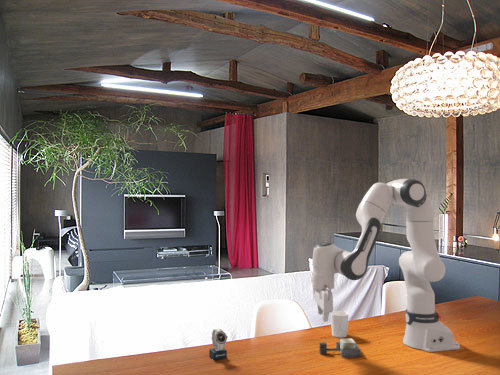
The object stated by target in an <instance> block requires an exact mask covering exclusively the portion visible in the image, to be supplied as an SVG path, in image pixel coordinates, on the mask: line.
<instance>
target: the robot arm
mask: <svg viewBox="0 0 500 375" xmlns="http://www.w3.org/2000/svg"><path fill="white" fill-rule="evenodd" d="M391 205H397V206H404V208H405V212H406V213H405V214H406V215H405V216H406V217H405V218H406V219H405V223H406V224H405V225H406V228H405V229H406V230H405V232H406V239H407V242H408V244H409V246H410V250H407V251H404V252H402V254H401V255H400V257H399V258H398V265H399V267H400V269H401V270H402V274H403V278H404V280H403V281H404V284H405V288H406V289H405V291H406V309H405V324H406V325H405V330H404V336H403V339H402V343H403V344H404V345H406V346H408V347H410V348H413V349H417V350H422V351H426V352H429V353H433V352H434V353H435V352H444V351H453V350H460V349H461V346H460V343H459V342H458V341H456V340H455V337H454V333H453V331H452V330H451V329H450V328H449V327H448V326H447V325H445V324H444V323H443V322H441V321H440V320H444V315H443V314H441V313H439V312H436V310H435V309H436V307H435V306H436V304H435V300H436V298H435V296H436V295H435V292H434V290H433V288H432V285H431V282H432V283H433V282H435V283H436V282H439V281H441V280H442V279H443V278H444V276H445V274H446V265H445V263H444V262H443V261H442V259H441V256H440V254H439V251H438V248H437V244H436V238H435V219H434V218H435V217H434V216H435V214H434V208H433V203H432V199H431V198H430V197H429V196H427V191H426V188H425V185H424V184H423V182H421V181H419V179H418V180H417V179H414V178H399V179H392V180H388V181H386V182H376V183H374V184H372V186H371V187H370V188H369V189H368V190H367V191H366V193H365V194H364V195H363V198H362V199H361V201H360V202H359V205H358V207H357V209H356V213H355V218H356V220H357V222H358V224H359V225H360V227H361V234H360V236H359V239H358V240H357V243H356V246H355V247H354V249H353V251H348V250H345V249H342V248H340V247H338V246H336V245H335V244H334V243H332V242H331V241H330V242H323V241H322V242H319V243H317V244H316V245H314V247H313V252H312V264H311V265H312V268H313V269H312V270H313V272H312V275H311V276H312V277H311V287H312V291H313V292H312V293H313V299H314V301H315V302H316V306H317V314H318V315H323V316H322V322H328V321H329V315H330V313H331V312H333V311H334V296H333V292H332V290H334V288H335V275H336V274H340V275H341V276H344V277H345V278H346V279H348V280H351V281H358V280H361V279H362V278H363V277H364V276H366V274H367V271H368V269H369V261H370V257H371V255H372V254H373V250H374V247H375V245H376V243H377V240H378V238H379V235H380V232H381V229H382V223H383V220H384V219H385V216H386V214H387V212H388V210H389V208H390V206H391Z"/></svg>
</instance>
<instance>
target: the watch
mask: <svg viewBox="0 0 500 375" xmlns="http://www.w3.org/2000/svg"><path fill="white" fill-rule="evenodd" d="M228 338H229V337H228V336H227V334H226V333H225V332H224V330H223V329H222V328H214V329H213V330H212V332H211V342H212V343H211V344H212V346H213V347H212V348H209V349H208V350H209V354H208V356H209V358H210V359H211V360H212V359H213V360H216V361H220V359H221V360H224V359H227V358H228V350H227V349H226V348H225V347H226V344H227V340H228ZM213 360H212V361H213Z"/></svg>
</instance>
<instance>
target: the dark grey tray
mask: <svg viewBox="0 0 500 375" xmlns="http://www.w3.org/2000/svg"><path fill="white" fill-rule="evenodd" d="M335 346H336V348H340V341H336V345H335ZM361 351H362V350H361V348H360V346H358V344H357V343H356V349H341V352H340V356H341V358H361V354H362V353H361Z"/></svg>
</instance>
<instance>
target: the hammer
mask: <svg viewBox="0 0 500 375" xmlns="http://www.w3.org/2000/svg"><path fill="white" fill-rule="evenodd" d="M339 342H340V348H328V344H327V342H319V354H320V355H327V352H328V351H329V352H330V351H331V352H333V351H335V352H336V351H338V352H340V353H341V349H356V344H357V342H356V341H355V340H354V339H353V338H339Z"/></svg>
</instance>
